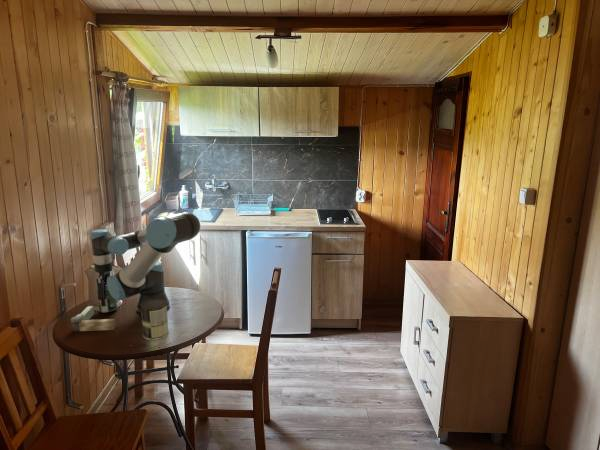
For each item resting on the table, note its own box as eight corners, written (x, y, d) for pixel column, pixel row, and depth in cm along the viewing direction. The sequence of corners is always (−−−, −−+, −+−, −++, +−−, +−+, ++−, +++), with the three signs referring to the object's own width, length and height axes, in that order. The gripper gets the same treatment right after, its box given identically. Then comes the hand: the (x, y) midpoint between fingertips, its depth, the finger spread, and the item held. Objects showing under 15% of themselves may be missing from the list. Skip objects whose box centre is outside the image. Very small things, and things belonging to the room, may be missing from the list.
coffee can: (139, 340, 178) (136, 308, 175) (148, 328, 188) (146, 298, 185) (164, 340, 178) (161, 308, 175) (172, 329, 188) (169, 298, 185)
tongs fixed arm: (72, 331, 186) (70, 323, 185) (75, 328, 189) (74, 319, 188) (113, 330, 187) (112, 321, 186) (115, 327, 190) (114, 318, 189)
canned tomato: (96, 312, 203) (94, 290, 200) (102, 305, 211) (100, 284, 208) (114, 311, 203) (111, 289, 201) (119, 305, 211) (117, 283, 209)
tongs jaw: (80, 331, 186) (78, 320, 184) (70, 331, 185) (69, 320, 184) (95, 314, 203) (94, 303, 202) (86, 314, 202) (85, 303, 201)
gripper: (102, 256, 212) (108, 300, 217) (85, 269, 192) (91, 317, 197) (118, 256, 212) (123, 299, 217) (103, 269, 192) (108, 317, 197)
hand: (108, 308), depth 207 cm, fingers closed on canned tomato, 8 cm apart
